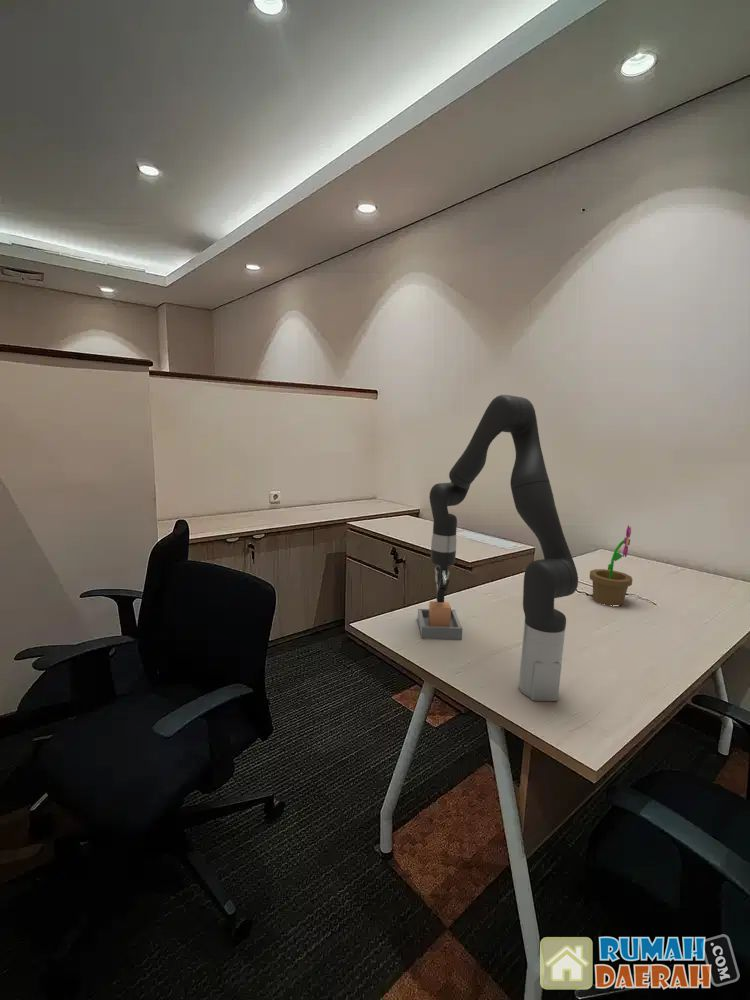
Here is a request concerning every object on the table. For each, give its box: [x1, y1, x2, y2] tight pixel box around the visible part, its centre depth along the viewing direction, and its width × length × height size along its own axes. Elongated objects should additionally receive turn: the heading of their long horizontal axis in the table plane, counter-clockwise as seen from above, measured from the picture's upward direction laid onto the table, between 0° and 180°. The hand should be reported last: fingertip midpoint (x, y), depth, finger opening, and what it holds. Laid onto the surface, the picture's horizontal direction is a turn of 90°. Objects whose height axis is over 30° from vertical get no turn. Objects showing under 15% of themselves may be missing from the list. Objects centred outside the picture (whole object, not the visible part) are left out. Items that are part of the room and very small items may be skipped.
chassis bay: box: [417, 608, 463, 641], centre depth 147 cm, size 14×12×4 cm
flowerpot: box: [589, 524, 633, 606], centre depth 173 cm, size 14×14×30 cm
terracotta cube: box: [428, 601, 452, 627], centre depth 147 cm, size 5×6×7 cm
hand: (440, 601), depth 146 cm, fingers closed
